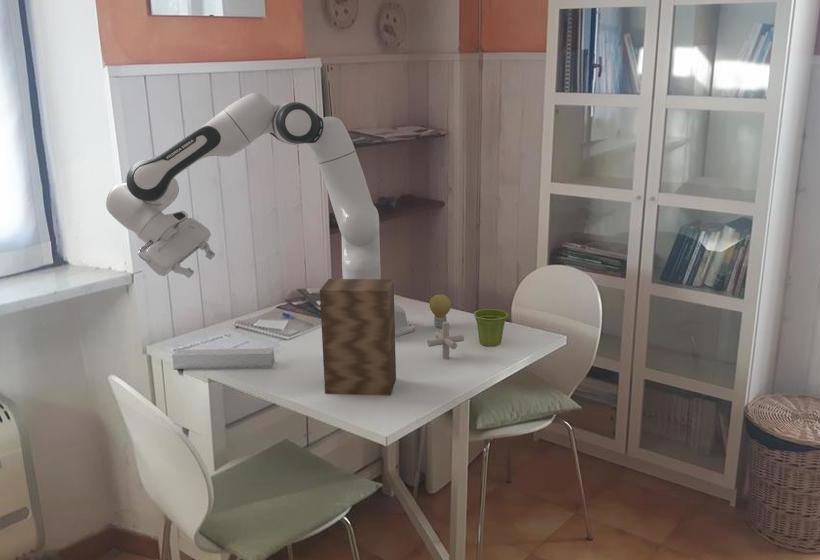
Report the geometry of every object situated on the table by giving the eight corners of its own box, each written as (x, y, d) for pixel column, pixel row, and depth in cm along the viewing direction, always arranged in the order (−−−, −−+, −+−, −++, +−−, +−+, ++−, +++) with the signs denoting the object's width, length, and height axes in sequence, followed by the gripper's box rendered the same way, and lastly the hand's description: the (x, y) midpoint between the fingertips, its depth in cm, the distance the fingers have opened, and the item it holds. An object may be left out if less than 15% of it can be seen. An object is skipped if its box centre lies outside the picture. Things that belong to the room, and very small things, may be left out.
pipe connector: (437, 367, 202) (436, 331, 200) (421, 355, 211) (420, 320, 208) (471, 361, 206) (471, 325, 203) (454, 349, 215) (454, 314, 212)
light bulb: (435, 331, 230) (435, 298, 227) (426, 325, 235) (425, 293, 233) (454, 328, 232) (454, 296, 229) (445, 322, 238) (444, 290, 235)
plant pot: (488, 335, 226) (488, 306, 223) (514, 342, 219) (514, 313, 217) (466, 343, 219) (466, 314, 217) (492, 351, 213) (493, 321, 210)
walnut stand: (325, 393, 187) (319, 290, 180) (333, 377, 197) (328, 278, 190) (390, 395, 186) (387, 291, 179) (396, 379, 195) (393, 279, 188)
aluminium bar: (173, 369, 205) (172, 355, 204) (177, 364, 209) (176, 350, 207) (272, 367, 205) (271, 353, 204) (274, 362, 208) (273, 348, 207)
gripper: (137, 244, 192) (181, 279, 192) (187, 207, 207) (228, 240, 208) (131, 260, 196) (174, 293, 196) (180, 223, 211) (220, 254, 212)
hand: (202, 265), depth 202 cm, fingers open, 8 cm apart
